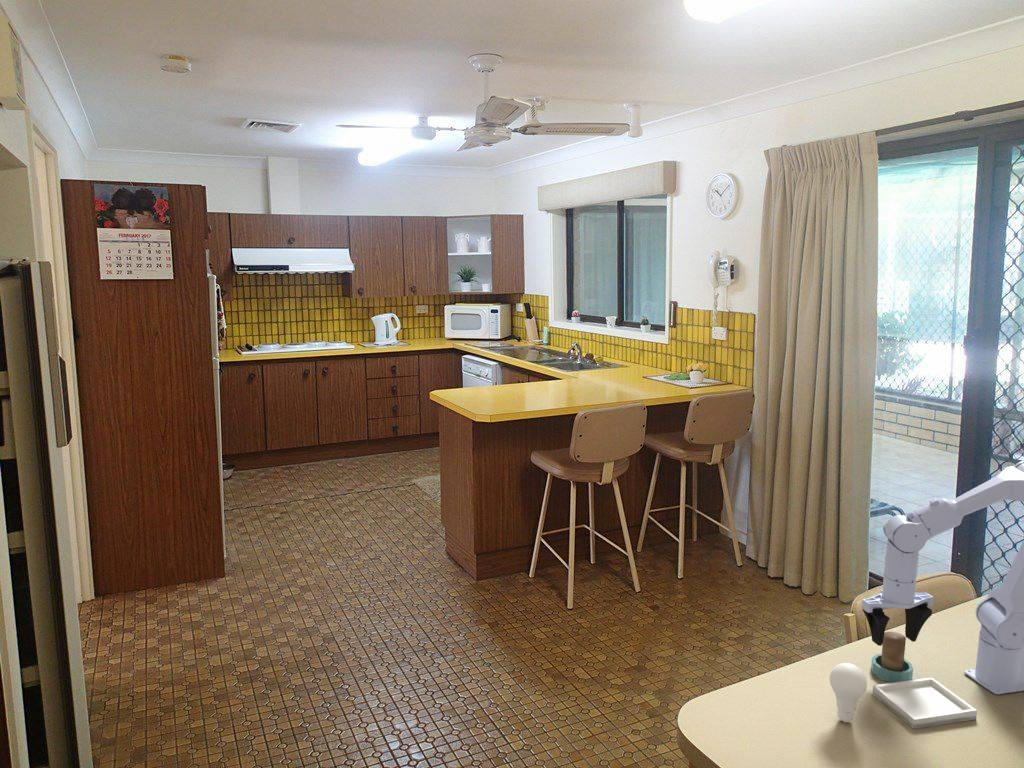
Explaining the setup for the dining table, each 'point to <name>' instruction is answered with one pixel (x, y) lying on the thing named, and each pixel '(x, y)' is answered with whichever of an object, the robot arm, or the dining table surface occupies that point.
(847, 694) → the lightbulb
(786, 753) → the dining table surface
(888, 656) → the dowel
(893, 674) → the teal ring
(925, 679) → the tray
